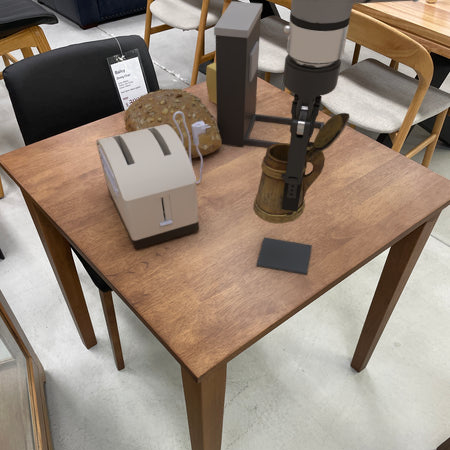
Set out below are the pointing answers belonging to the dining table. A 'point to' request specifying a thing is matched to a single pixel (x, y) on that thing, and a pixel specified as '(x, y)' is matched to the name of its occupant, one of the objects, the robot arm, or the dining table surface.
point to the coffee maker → (240, 75)
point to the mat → (284, 256)
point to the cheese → (211, 82)
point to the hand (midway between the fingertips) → (292, 195)
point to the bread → (163, 114)
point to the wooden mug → (276, 166)
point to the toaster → (153, 181)
